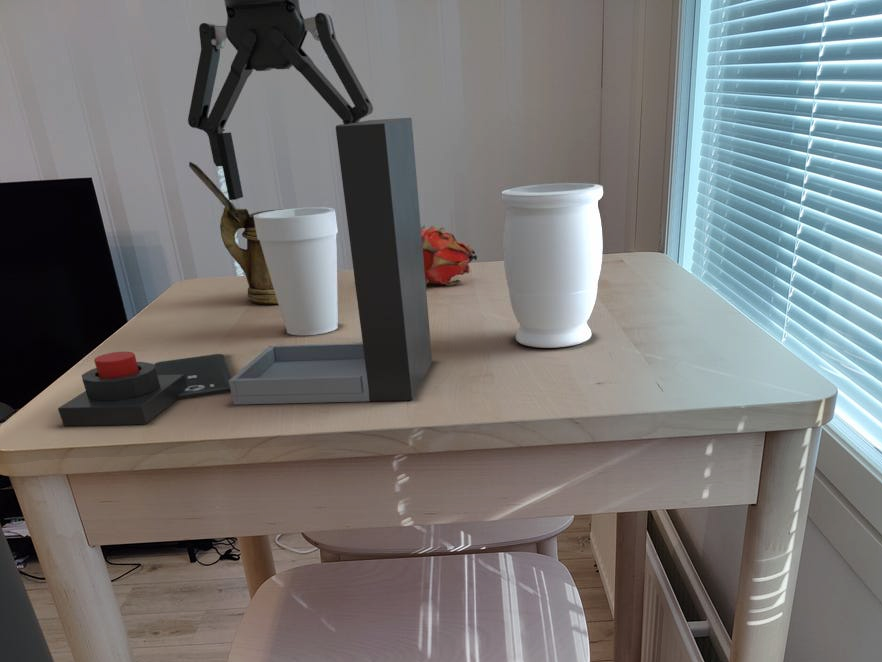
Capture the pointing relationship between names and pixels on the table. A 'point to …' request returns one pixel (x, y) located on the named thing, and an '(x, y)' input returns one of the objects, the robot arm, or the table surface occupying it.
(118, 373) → the button
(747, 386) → the table surface
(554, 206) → the jar
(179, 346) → the table surface
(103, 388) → the panel
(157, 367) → the smartphone
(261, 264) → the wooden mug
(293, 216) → the foam cup
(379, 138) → the coffee maker
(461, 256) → the dragon fruit
